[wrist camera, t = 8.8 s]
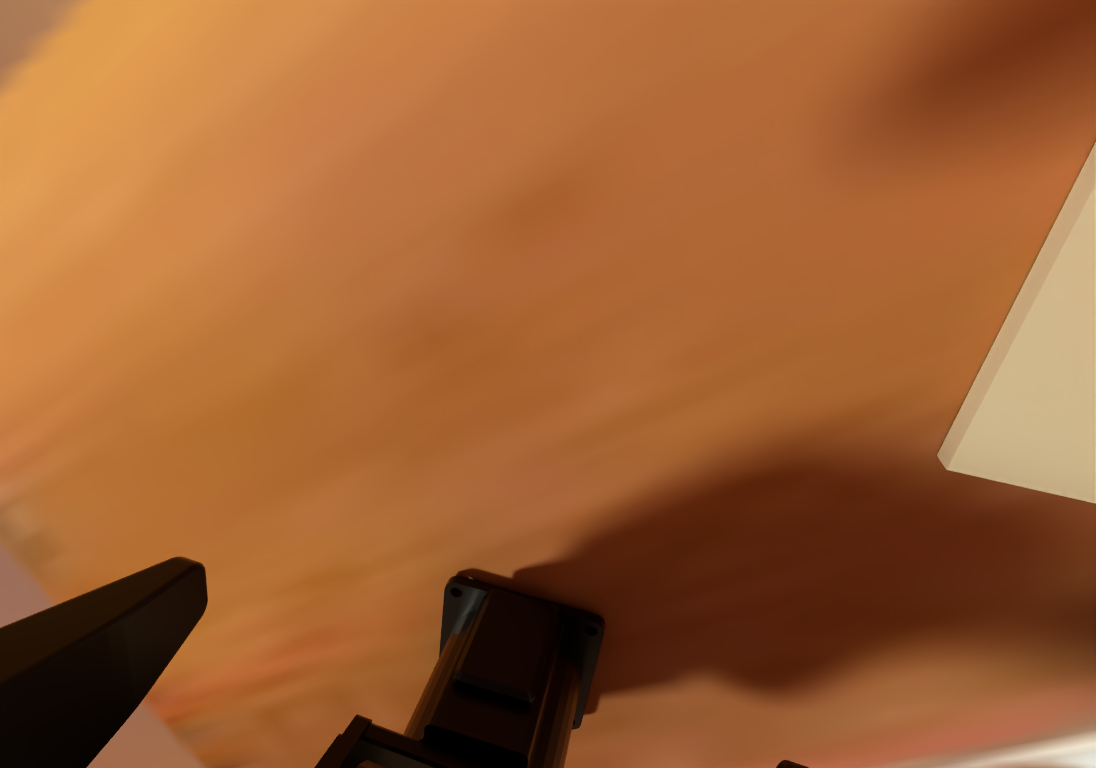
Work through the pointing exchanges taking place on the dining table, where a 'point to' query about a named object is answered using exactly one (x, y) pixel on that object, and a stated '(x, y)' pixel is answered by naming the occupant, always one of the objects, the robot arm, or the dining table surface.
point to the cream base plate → (1041, 370)
